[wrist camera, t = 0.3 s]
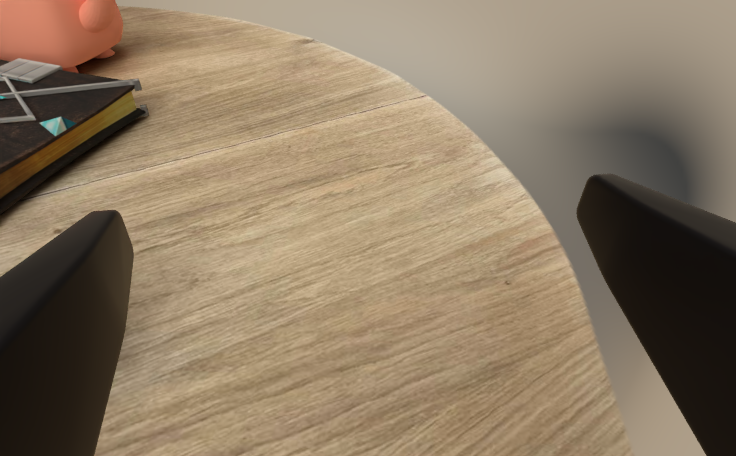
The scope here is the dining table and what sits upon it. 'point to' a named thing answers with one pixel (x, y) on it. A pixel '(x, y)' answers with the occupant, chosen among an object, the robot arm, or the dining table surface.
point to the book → (54, 120)
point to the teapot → (59, 30)
